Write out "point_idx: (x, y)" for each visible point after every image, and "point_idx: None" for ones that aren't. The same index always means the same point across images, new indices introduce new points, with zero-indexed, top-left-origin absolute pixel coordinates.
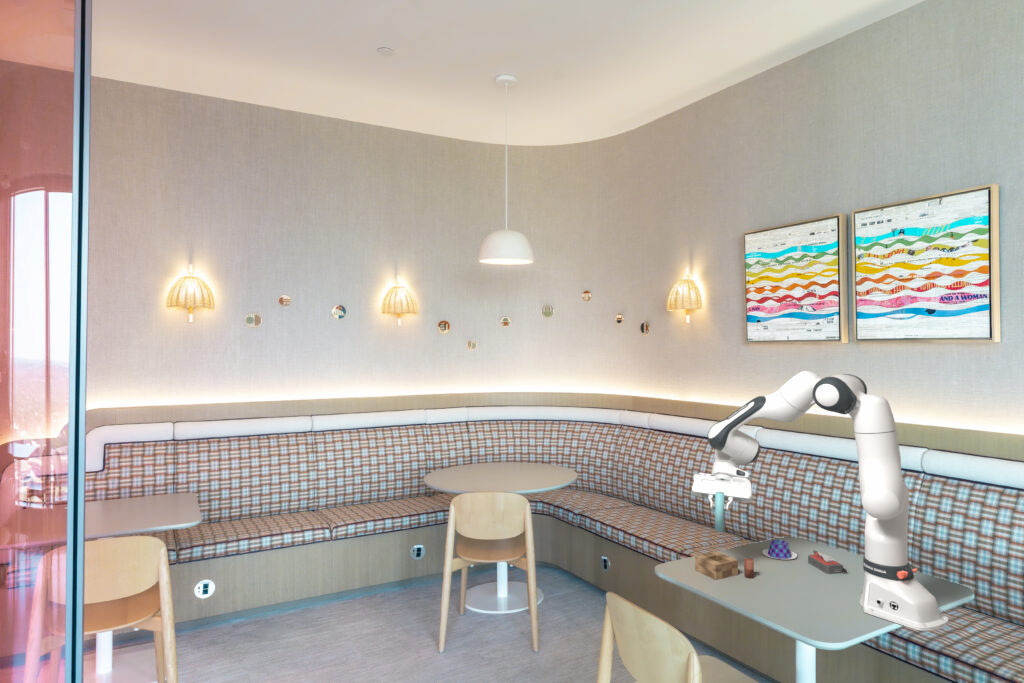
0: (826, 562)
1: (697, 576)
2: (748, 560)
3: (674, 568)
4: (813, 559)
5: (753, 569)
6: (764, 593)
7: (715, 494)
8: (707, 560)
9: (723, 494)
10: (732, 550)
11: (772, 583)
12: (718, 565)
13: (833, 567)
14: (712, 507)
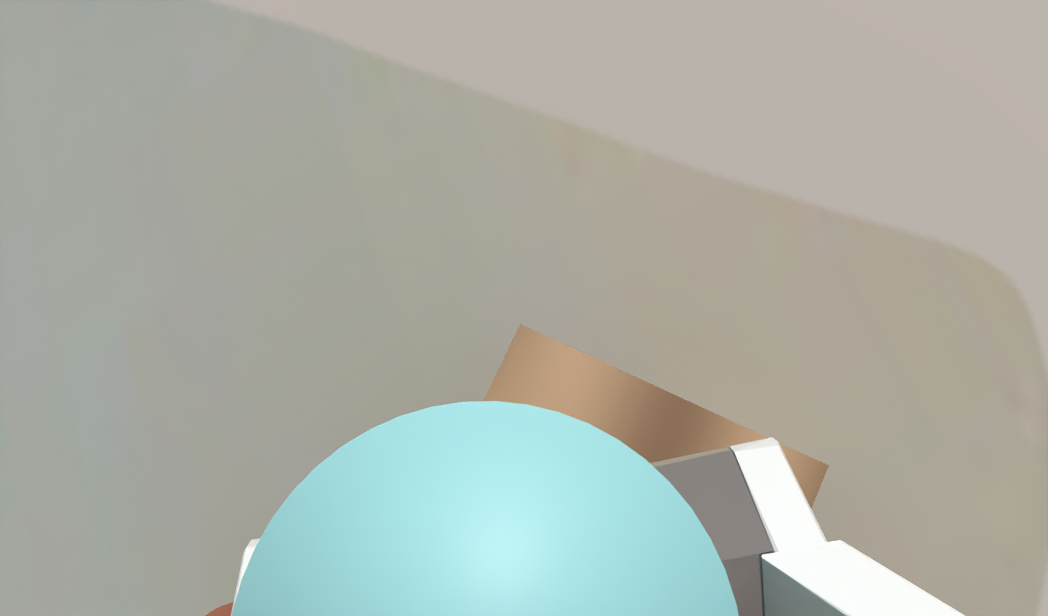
0: None
1: (698, 330)
2: (228, 608)
3: (970, 388)
4: None
5: None
6: (80, 318)
7: (665, 483)
8: (650, 409)
9: (249, 577)
10: None
11: (65, 594)
12: (503, 360)
13: None
14: (708, 460)
